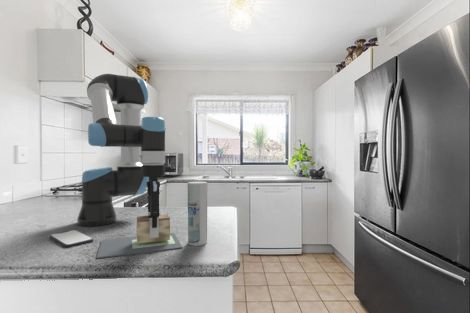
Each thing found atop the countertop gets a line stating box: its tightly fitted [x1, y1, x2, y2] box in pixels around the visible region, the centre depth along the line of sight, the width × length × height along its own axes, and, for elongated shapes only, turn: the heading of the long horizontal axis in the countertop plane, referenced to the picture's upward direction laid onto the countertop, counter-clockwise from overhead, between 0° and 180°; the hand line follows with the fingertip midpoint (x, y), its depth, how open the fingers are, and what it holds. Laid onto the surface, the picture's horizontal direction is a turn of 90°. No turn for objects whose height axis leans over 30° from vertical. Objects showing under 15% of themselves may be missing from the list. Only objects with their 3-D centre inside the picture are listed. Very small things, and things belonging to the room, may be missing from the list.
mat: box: [96, 232, 183, 260], centre depth 89 cm, size 17×24×1 cm
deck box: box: [136, 213, 171, 243], centre depth 90 cm, size 10×6×7 cm, turn 111°
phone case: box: [49, 229, 94, 249], centre depth 94 cm, size 9×2×16 cm
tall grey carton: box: [187, 180, 208, 247], centre depth 91 cm, size 6×6×20 cm
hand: (153, 234), depth 90 cm, fingers closed on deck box, 6 cm apart
